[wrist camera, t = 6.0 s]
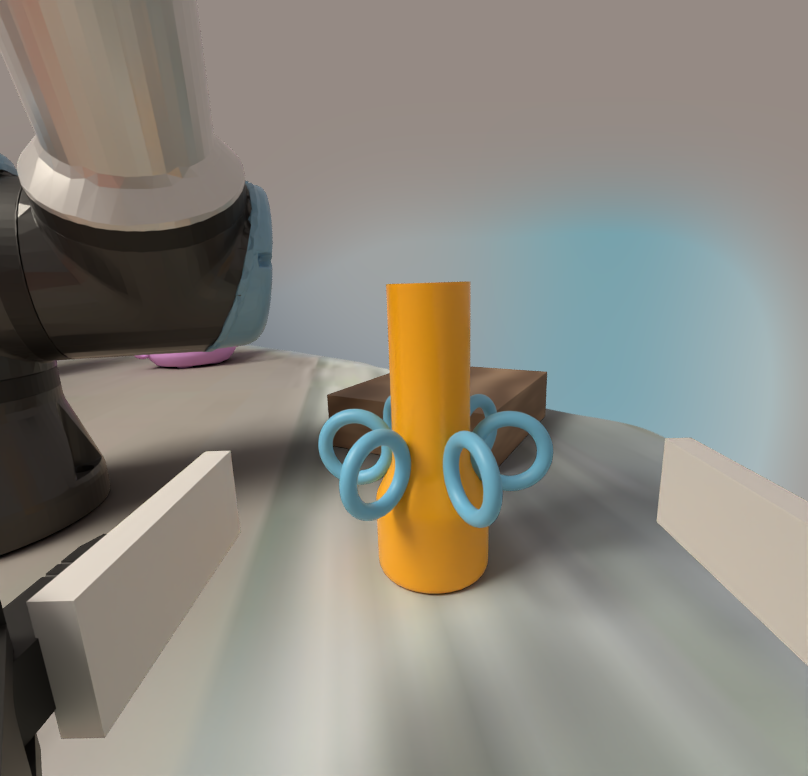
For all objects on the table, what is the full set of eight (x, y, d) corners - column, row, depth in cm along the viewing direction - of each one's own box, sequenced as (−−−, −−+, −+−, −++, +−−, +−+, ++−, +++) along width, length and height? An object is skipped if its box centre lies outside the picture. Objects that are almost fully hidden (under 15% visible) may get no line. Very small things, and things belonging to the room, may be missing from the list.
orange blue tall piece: (290, 619, 21) (256, 288, 18) (351, 509, 31) (337, 285, 28) (566, 645, 19) (587, 278, 16) (535, 519, 29) (544, 278, 26)
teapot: (162, 380, 78) (149, 298, 75) (122, 367, 92) (110, 298, 89) (274, 361, 94) (267, 293, 90) (225, 353, 108) (218, 294, 105)
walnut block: (330, 445, 43) (327, 394, 42) (419, 401, 58) (418, 363, 57) (490, 475, 35) (490, 414, 34) (545, 415, 51) (547, 371, 49)
